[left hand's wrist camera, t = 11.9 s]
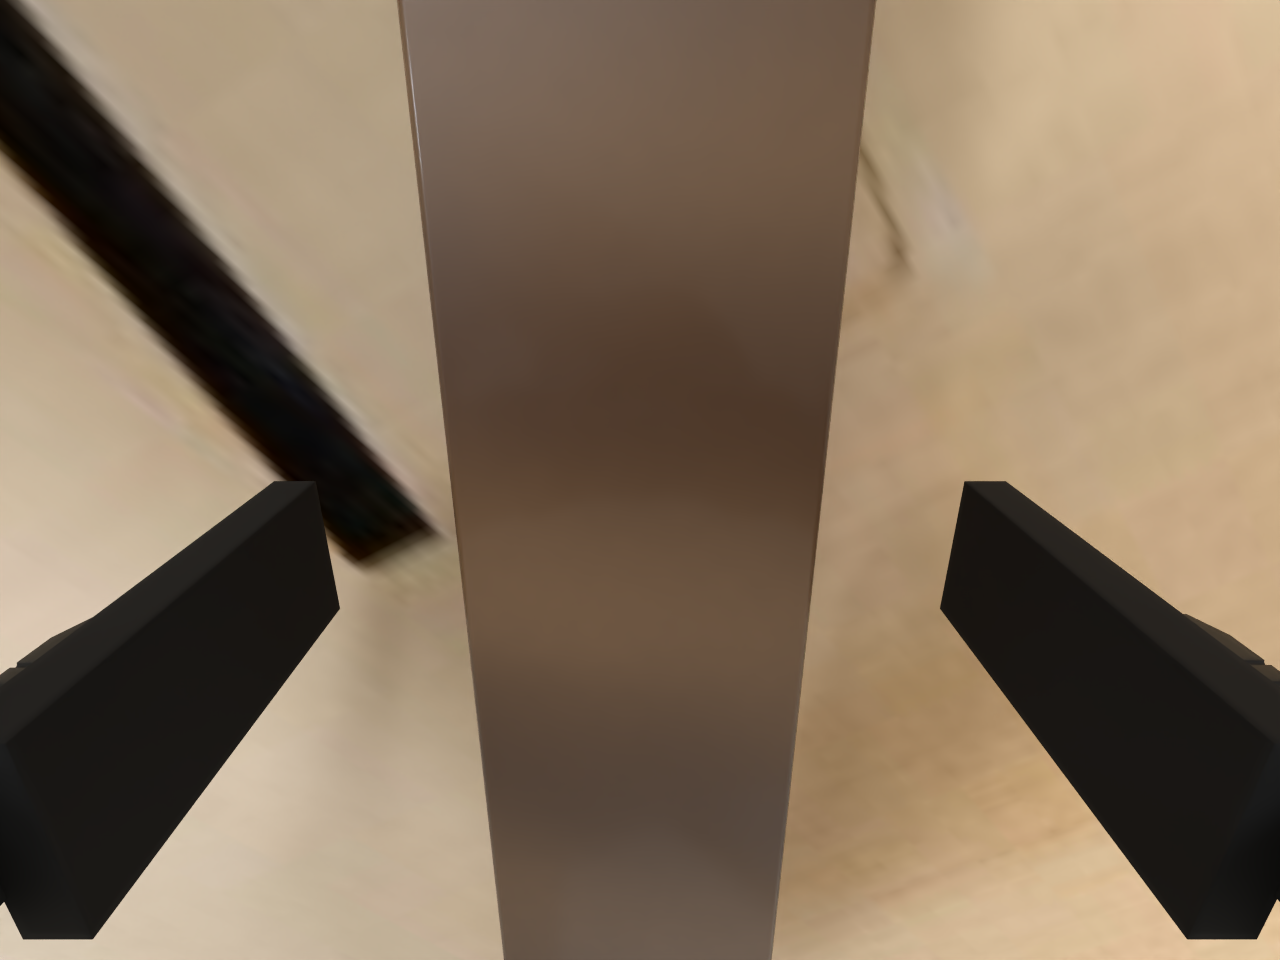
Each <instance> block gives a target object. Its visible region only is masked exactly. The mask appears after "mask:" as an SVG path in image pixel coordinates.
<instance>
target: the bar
mask: <svg viewBox="0 0 1280 960" xmlns="http://www.w3.org/2000/svg"><path fill="white" fill-rule="evenodd" d="M397 5H398V14H399V23H400V32H401V41H402V50H403V59H404V68H405V76H406V85H407V94H408V103H409V112H410V121H411V130H412V139H413V148H414V157H415V166H416V175H417V184H418V193H419V202H420V211H421V220H422V229H423V238H424V247H425V256H426V265H427V274H428V283H429V292H430V301H431V310H432V319H433V328H434V337H435V346H436V354H437V363H438V372H439V381H440V390H441V399H442V408H443V417H444V426H445V435H446V444H447V453H448V462H449V471H450V480H451V489H452V498H453V507H454V516H455V525H456V534H457V543H458V552H459V561H460V570H461V579H462V588H463V597H464V606H465V615H466V624H467V632H468V641H469V650H470V659H471V668H472V677H473V686H474V695H475V704H476V713H477V722H478V731H479V740H480V749H481V758H482V767H483V776H484V785H485V794H486V803H487V812H488V821H489V830H490V839H491V848H492V857H493V866H494V875H495V884H496V893H497V902H498V910H499V919H500V928H501V937H502V946H503V955H504V960H772V951H773V941H774V932H775V923H776V914H777V905H778V896H779V886H780V877H781V868H782V859H783V850H784V841H785V831H786V822H787V813H788V804H789V795H790V786H791V776H792V767H793V758H794V749H795V740H796V731H797V722H798V712H799V703H800V694H801V685H802V676H803V667H804V657H805V648H806V639H807V630H808V621H809V612H810V602H811V593H812V584H813V575H814V566H815V557H816V547H817V538H818V529H819V520H820V511H821V502H822V492H823V483H824V474H825V465H826V456H827V447H828V437H829V428H830V419H831V410H832V401H833V392H834V382H835V373H836V364H837V355H838V346H839V337H840V327H841V318H842V309H843V300H844V291H845V282H846V272H847V263H848V254H849V245H850V236H851V227H852V217H853V208H854V199H855V190H856V181H857V172H858V162H859V153H860V144H861V135H862V126H863V117H864V107H865V98H866V89H867V80H868V71H869V62H870V52H871V43H872V34H873V25H874V16H875V7H876V0H397Z"/></svg>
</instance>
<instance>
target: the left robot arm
mask: <svg viewBox="0 0 1280 960" xmlns="http://www.w3.org/2000/svg"><path fill="white" fill-rule="evenodd" d="M339 609H340V606H339V601H338V596H337V591H336V585H335V580H334V575H333V570H332V565H331V559H330V554H329V549H328V544H327V539H326V534H325V528H324V523H323V518H322V513H321V508H320V502H319V497H318V492H317V487H316V482H315V481H274V482H273V483H271V484H270V485H269V486H267V487H266V488H265V489H263V490H262V491H261V492H259V493H258V494H257V495H255V496H254V497H253V498H251V499H250V500H249V501H247V502H246V503H245V504H243V505H242V506H241V507H239V508H238V509H237V510H235V511H234V512H233V513H231V514H230V515H229V516H227V517H226V518H225V519H223V520H222V521H221V522H219V523H218V524H217V525H215V526H214V527H213V528H211V529H210V530H209V531H207V532H206V533H205V534H203V535H202V536H201V537H199V538H198V539H197V540H195V541H194V542H193V543H191V544H190V545H189V546H187V547H186V548H185V549H183V550H182V551H181V552H179V553H178V554H177V555H175V556H174V557H173V558H171V559H170V560H169V561H167V562H166V563H165V564H163V565H162V566H161V567H159V568H158V569H157V570H155V571H154V572H153V573H151V574H150V575H149V576H147V577H146V578H145V579H143V580H142V581H141V582H139V583H138V584H137V585H135V586H134V587H133V588H131V589H130V590H129V591H127V592H126V593H125V594H123V595H122V596H121V597H119V598H118V599H117V600H115V601H114V602H113V603H111V604H110V605H109V606H107V607H106V608H105V609H103V610H102V611H101V612H99V613H98V614H97V615H95V616H94V617H93V618H90V619H88V620H86V621H84V622H82V623H80V624H78V625H76V626H74V627H72V628H70V629H68V630H66V631H64V632H62V633H60V634H58V635H56V636H54V637H52V638H50V639H49V640H47V641H46V642H45V643H43V644H42V645H40V646H39V647H38V648H36V649H35V650H34V651H32V652H31V653H30V654H28V655H27V656H25V657H24V658H23V659H21V660H20V661H19V662H17V666H16V668H9V669H8V670H6V671H5V672H4V673H2V674H1V675H0V906H1V904H2V903H3V902H5V904H6V906H7V908H8V910H9V912H10V914H11V916H12V918H13V920H14V922H15V924H16V926H17V928H18V930H19V932H20V934H21V936H22V938H23V939H93V938H94V937H95V936H96V934H97V933H98V932H99V930H100V929H101V928H102V926H103V925H104V924H105V922H106V921H107V920H108V918H109V917H110V916H111V914H112V913H113V912H114V910H115V909H116V908H117V906H118V905H119V904H120V902H121V901H122V900H123V898H124V897H125V896H126V894H127V893H128V891H129V890H130V889H131V887H132V886H133V885H134V883H135V882H136V881H137V879H138V878H139V877H140V875H141V874H142V873H143V871H144V870H145V869H146V867H147V866H148V865H149V863H150V862H151V861H152V859H153V858H154V857H155V855H156V854H157V853H158V851H159V850H160V849H161V847H162V846H163V845H164V843H165V842H166V841H167V839H168V838H169V837H170V835H171V834H172V833H173V831H174V830H175V829H176V827H177V826H178V825H179V823H180V822H181V821H182V819H183V818H184V817H185V815H186V814H187V813H188V811H189V810H190V809H191V807H192V806H193V805H194V803H195V802H196V800H197V799H198V798H199V796H200V795H201V794H202V792H203V791H204V790H205V788H206V787H207V786H208V784H209V783H210V782H211V780H212V779H213V778H214V776H215V775H216V774H217V772H218V771H219V770H220V768H221V767H222V766H223V764H224V763H225V762H226V760H227V759H228V758H229V756H230V755H231V754H232V752H233V751H234V750H235V748H236V747H237V746H238V744H239V743H240V742H241V740H242V739H243V738H244V736H245V735H246V734H247V732H248V731H249V730H250V728H251V727H252V726H253V724H254V723H255V722H256V720H257V719H258V718H259V716H260V715H261V714H262V712H263V711H264V709H265V708H266V707H267V705H268V704H269V703H270V701H271V700H272V699H273V697H274V696H275V695H276V693H277V692H278V691H279V689H280V688H281V687H282V685H283V684H284V683H285V681H286V680H287V679H288V677H289V676H290V675H291V673H292V672H293V671H294V669H295V668H296V667H297V665H298V664H299V663H300V661H301V660H302V659H303V657H304V656H305V655H306V653H307V652H308V651H309V649H310V648H311V647H312V645H313V644H314V643H315V641H316V640H317V639H318V637H319V636H320V635H321V633H322V632H323V631H324V629H325V628H326V627H327V625H328V624H329V623H330V621H331V620H332V619H333V617H334V616H335V614H336V613H337V612H338V610H339ZM940 609H941V610H942V612H943V613H944V614H945V616H946V617H947V618H948V620H949V621H950V623H951V624H952V625H953V627H954V628H955V629H956V631H957V632H958V633H959V635H960V636H961V637H962V639H963V640H964V641H965V643H966V644H967V645H968V647H969V648H970V649H971V651H972V652H973V653H974V655H975V656H976V657H977V659H978V660H979V661H980V663H981V664H982V665H983V667H984V668H985V669H986V671H987V672H988V673H989V675H990V676H991V677H992V679H993V680H994V681H995V683H996V684H997V685H998V687H999V688H1000V689H1001V691H1002V692H1003V693H1004V695H1005V696H1006V697H1007V699H1008V700H1009V701H1010V703H1011V704H1012V705H1013V707H1014V708H1015V709H1016V711H1017V712H1018V713H1019V715H1020V716H1021V718H1022V719H1023V720H1024V722H1025V723H1026V724H1027V726H1028V727H1029V728H1030V730H1031V731H1032V732H1033V734H1034V735H1035V736H1036V738H1037V739H1038V740H1039V742H1040V743H1041V744H1042V746H1043V747H1044V748H1045V750H1046V751H1047V752H1048V754H1049V755H1050V756H1051V758H1052V759H1053V760H1054V762H1055V763H1056V764H1057V766H1058V767H1059V768H1060V770H1061V771H1062V772H1063V774H1064V775H1065V776H1066V778H1067V779H1068V780H1069V782H1070V783H1071V784H1072V786H1073V787H1074V788H1075V790H1076V791H1077V792H1078V794H1079V795H1080V796H1081V798H1082V799H1083V800H1084V802H1085V803H1086V804H1087V806H1088V807H1089V809H1090V810H1091V811H1092V813H1093V814H1094V815H1095V817H1096V818H1097V819H1098V821H1099V822H1100V823H1101V825H1102V826H1103V827H1104V829H1105V830H1106V831H1107V833H1108V834H1109V835H1110V837H1111V838H1112V839H1113V841H1114V842H1115V843H1116V845H1117V846H1118V847H1119V849H1120V850H1121V851H1122V853H1123V854H1124V855H1125V857H1126V858H1127V859H1128V861H1129V862H1130V863H1131V865H1132V866H1133V867H1134V869H1135V870H1136V871H1137V873H1138V874H1139V875H1140V877H1141V878H1142V879H1143V881H1144V882H1145V883H1146V885H1147V886H1148V887H1149V889H1150V890H1151V891H1152V893H1153V894H1154V895H1155V897H1156V898H1157V900H1158V901H1159V902H1160V904H1161V905H1162V906H1163V908H1164V909H1165V910H1166V912H1167V913H1168V914H1169V916H1170V917H1171V918H1172V920H1173V921H1174V922H1175V924H1176V925H1177V926H1178V928H1179V929H1180V930H1181V932H1182V933H1183V934H1184V936H1185V937H1186V938H1187V939H1257V938H1258V936H1259V934H1260V932H1261V930H1262V928H1263V926H1264V924H1265V922H1266V920H1267V918H1268V916H1269V914H1270V912H1271V910H1272V908H1273V906H1274V904H1275V902H1276V900H1277V899H1278V900H1279V901H1280V671H1279V670H1277V669H1276V668H1274V667H1273V666H1272V665H1265V663H1264V660H1263V659H1262V658H1261V657H1259V656H1258V655H1257V654H1255V653H1254V652H1252V651H1251V650H1250V649H1248V648H1247V647H1245V646H1244V645H1243V644H1241V643H1240V642H1239V641H1237V640H1236V639H1234V638H1233V637H1232V636H1230V635H1228V634H1226V633H1224V632H1222V631H1220V630H1218V629H1216V628H1214V627H1212V626H1210V625H1208V624H1206V623H1204V622H1202V621H1200V620H1198V619H1195V618H1193V617H1191V616H1189V615H1187V614H1182V613H1181V612H1179V611H1178V610H1177V609H1175V608H1174V607H1173V606H1171V605H1170V604H1169V603H1167V602H1166V601H1165V600H1163V599H1162V598H1161V597H1159V596H1158V595H1157V594H1155V593H1154V592H1153V591H1151V590H1150V589H1149V588H1147V587H1146V586H1145V585H1143V584H1142V583H1141V582H1139V581H1138V580H1137V579H1135V578H1134V577H1133V576H1131V575H1130V574H1129V573H1127V572H1126V571H1125V570H1123V569H1122V568H1121V567H1119V566H1118V565H1117V564H1115V563H1114V562H1113V561H1111V560H1110V559H1109V558H1107V557H1106V556H1105V555H1103V554H1102V553H1101V552H1099V551H1098V550H1097V549H1095V548H1094V547H1093V546H1091V545H1090V544H1089V543H1087V542H1086V541H1085V540H1083V539H1082V538H1081V537H1079V536H1078V535H1077V534H1075V533H1074V532H1073V531H1071V530H1070V529H1069V528H1067V527H1066V526H1065V525H1063V524H1062V523H1061V522H1059V521H1058V520H1057V519H1055V518H1054V517H1053V516H1051V515H1050V514H1049V513H1047V512H1046V511H1045V510H1043V509H1042V508H1041V507H1039V506H1038V505H1037V504H1035V503H1034V502H1033V501H1031V500H1030V499H1029V498H1027V497H1026V496H1025V495H1023V494H1022V493H1021V492H1019V491H1018V490H1017V489H1015V488H1014V487H1013V486H1011V485H1010V484H1009V483H1007V482H1006V481H965V482H964V487H963V492H962V497H961V502H960V508H959V513H958V518H957V523H956V528H955V534H954V539H953V544H952V549H951V554H950V560H949V565H948V570H947V575H946V580H945V585H944V591H943V596H942V601H941V606H940Z"/></svg>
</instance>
